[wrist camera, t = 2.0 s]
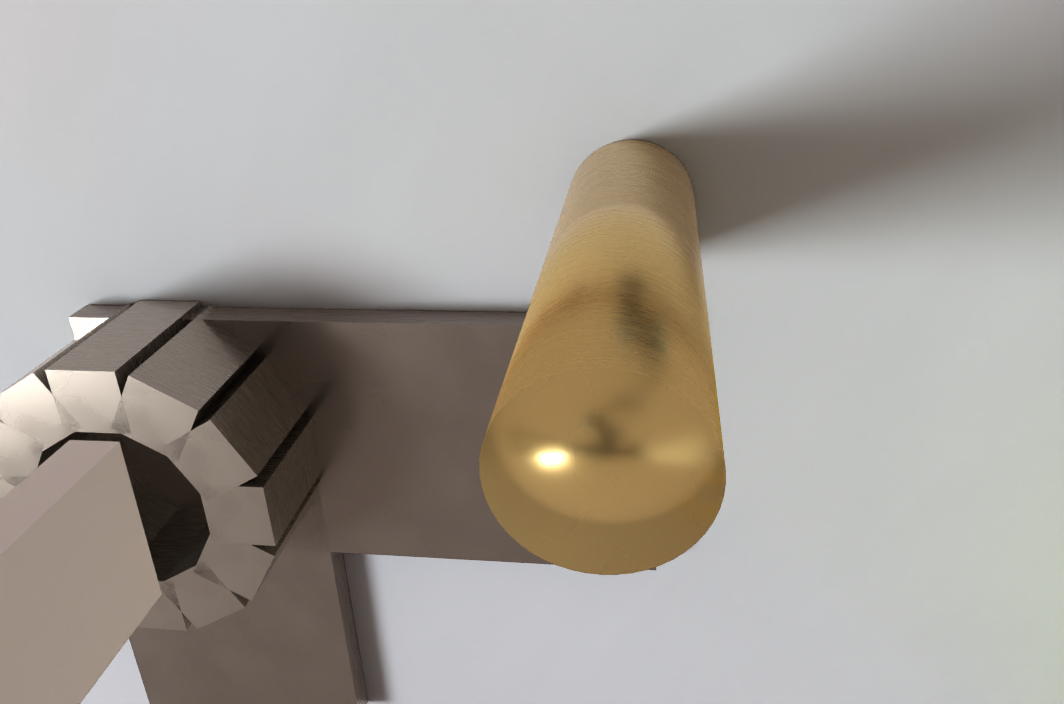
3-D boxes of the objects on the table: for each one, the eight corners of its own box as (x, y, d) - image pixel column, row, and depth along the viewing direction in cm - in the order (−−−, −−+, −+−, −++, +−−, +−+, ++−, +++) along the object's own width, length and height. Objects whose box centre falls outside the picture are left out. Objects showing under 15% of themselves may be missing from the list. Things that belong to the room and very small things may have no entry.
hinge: (38, 298, 29) (-73, 366, 25) (662, 308, 27) (662, 386, 22) (157, 685, 37) (89, 789, 33) (651, 724, 34) (649, 844, 30)
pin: (567, 140, 25) (471, 364, 12) (697, 138, 24) (733, 372, 12) (569, 260, 26) (487, 568, 14) (691, 261, 26) (718, 581, 13)
